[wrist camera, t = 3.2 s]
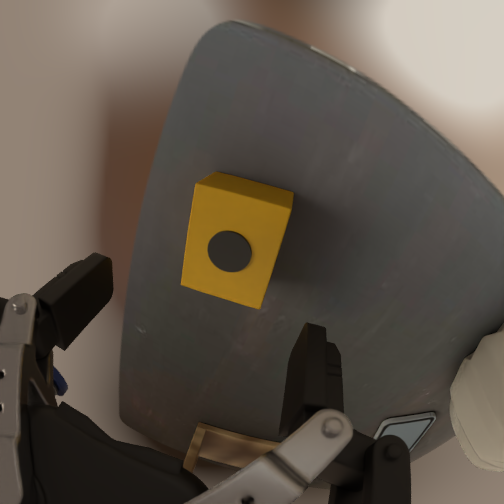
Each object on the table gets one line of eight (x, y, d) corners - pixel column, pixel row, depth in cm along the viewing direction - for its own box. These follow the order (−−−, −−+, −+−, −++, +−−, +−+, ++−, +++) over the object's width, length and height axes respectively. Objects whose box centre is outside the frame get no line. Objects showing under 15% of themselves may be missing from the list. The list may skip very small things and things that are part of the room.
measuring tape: (198, 263, 20) (178, 291, 17) (215, 170, 17) (193, 183, 14) (266, 283, 20) (257, 316, 16) (294, 192, 17) (291, 210, 13)
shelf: (192, 449, 36) (167, 519, 24) (198, 421, 31) (165, 512, 18) (263, 468, 36) (248, 539, 23) (288, 444, 30) (273, 536, 18)
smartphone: (438, 414, 23) (400, 462, 29) (437, 409, 24) (399, 458, 30) (384, 423, 24) (356, 468, 30) (383, 417, 25) (356, 463, 31)
